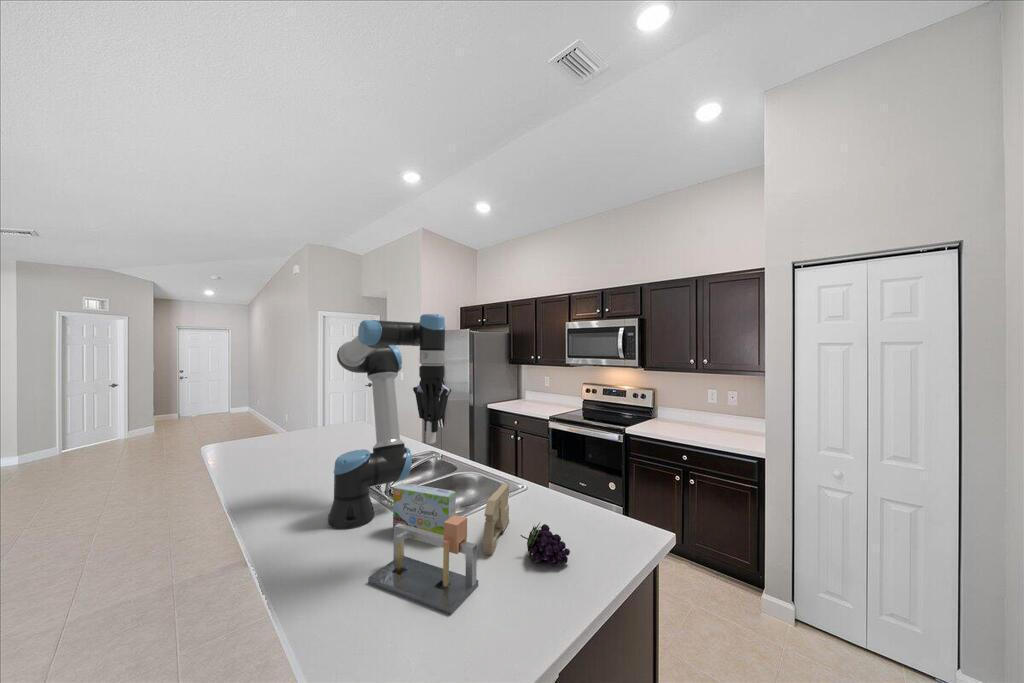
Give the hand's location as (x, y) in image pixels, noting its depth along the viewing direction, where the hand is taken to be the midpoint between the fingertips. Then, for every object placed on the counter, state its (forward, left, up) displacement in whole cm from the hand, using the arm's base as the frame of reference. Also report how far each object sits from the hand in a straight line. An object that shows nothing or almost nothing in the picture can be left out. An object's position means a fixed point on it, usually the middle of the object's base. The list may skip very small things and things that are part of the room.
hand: (431, 442), depth 115 cm
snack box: (-8, +7, -33) cm, 34 cm away
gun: (+14, +17, -33) cm, 39 cm away
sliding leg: (+16, -11, -31) cm, 36 cm away
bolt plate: (+9, -14, -32) cm, 36 cm away
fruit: (+33, +11, -33) cm, 48 cm away
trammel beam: (+9, -12, -32) cm, 35 cm away
